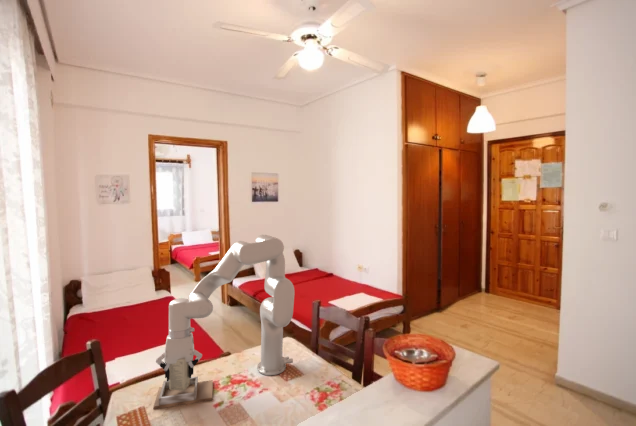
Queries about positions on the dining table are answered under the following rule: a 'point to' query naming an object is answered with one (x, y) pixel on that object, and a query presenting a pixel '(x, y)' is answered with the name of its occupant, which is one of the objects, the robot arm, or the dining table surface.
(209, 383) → the box stand
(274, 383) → the dining table surface
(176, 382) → the skincare box
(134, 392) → the dining table surface
